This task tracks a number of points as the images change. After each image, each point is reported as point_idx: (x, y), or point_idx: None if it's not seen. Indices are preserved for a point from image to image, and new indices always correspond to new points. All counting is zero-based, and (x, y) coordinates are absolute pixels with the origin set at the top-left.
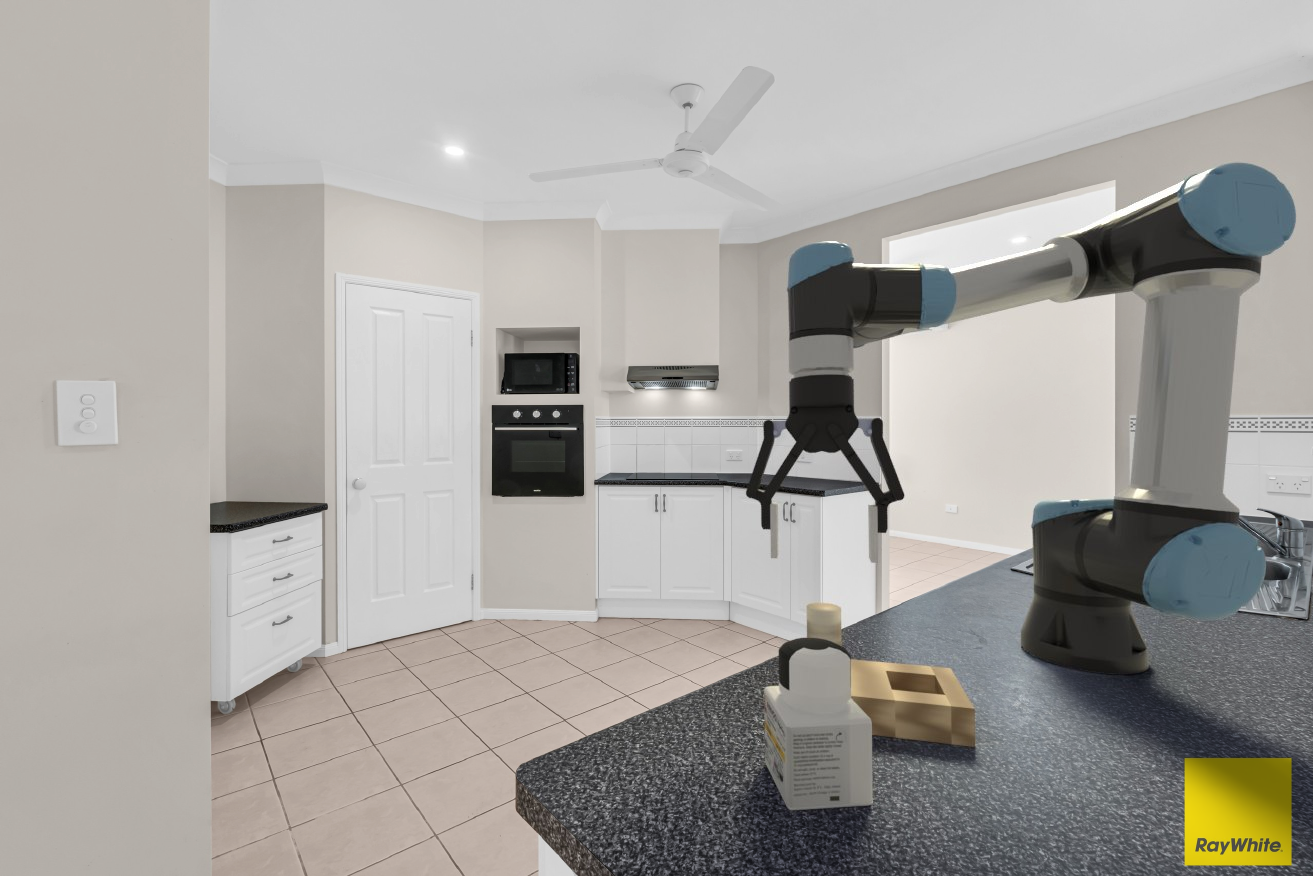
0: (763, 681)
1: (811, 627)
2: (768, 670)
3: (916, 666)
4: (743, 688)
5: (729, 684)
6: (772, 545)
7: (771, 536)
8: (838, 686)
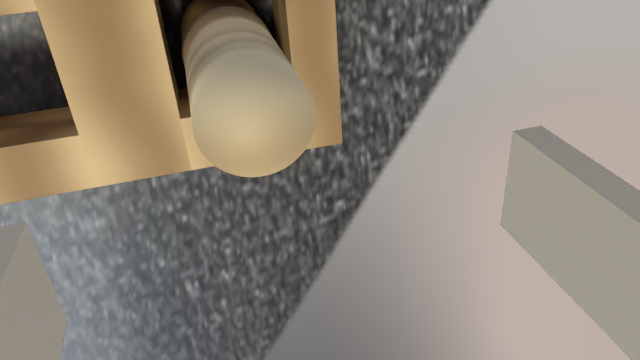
0: (367, 109)
1: (282, 55)
2: (362, 167)
3: (6, 193)
4: (404, 57)
5: (435, 65)
6: (575, 157)
7: (617, 180)
8: None
